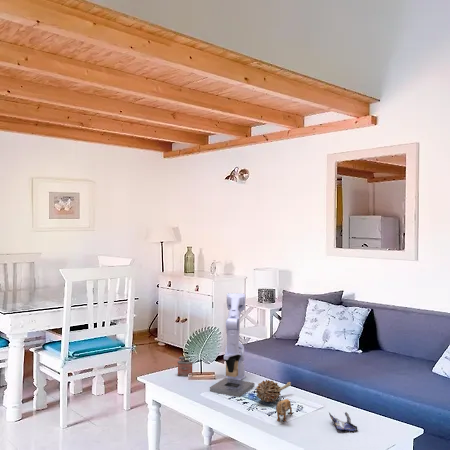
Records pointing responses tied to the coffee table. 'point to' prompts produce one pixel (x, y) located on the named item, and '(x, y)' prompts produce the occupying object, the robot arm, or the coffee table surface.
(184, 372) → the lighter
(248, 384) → the collar plate
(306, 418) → the coffee table surface
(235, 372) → the tan cardboard box
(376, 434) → the coffee table surface
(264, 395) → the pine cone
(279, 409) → the lion figurine
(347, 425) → the blue pointed piece
